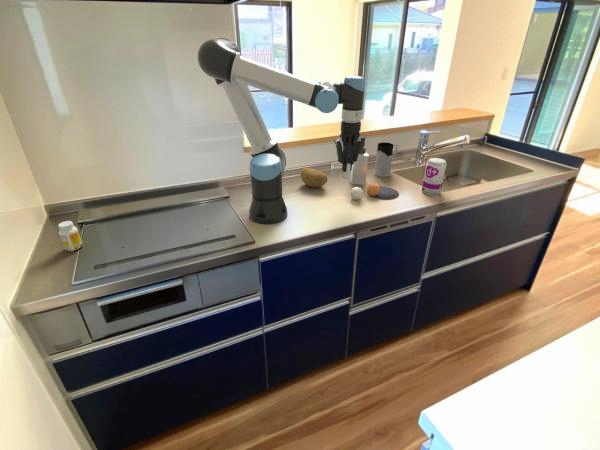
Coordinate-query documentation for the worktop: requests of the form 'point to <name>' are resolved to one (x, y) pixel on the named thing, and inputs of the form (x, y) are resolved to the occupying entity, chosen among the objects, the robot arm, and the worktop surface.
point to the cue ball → (356, 193)
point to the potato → (313, 177)
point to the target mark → (386, 193)
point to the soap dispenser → (360, 166)
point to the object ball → (373, 189)
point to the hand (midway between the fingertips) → (345, 178)
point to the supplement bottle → (69, 235)
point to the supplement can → (434, 176)
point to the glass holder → (384, 159)
